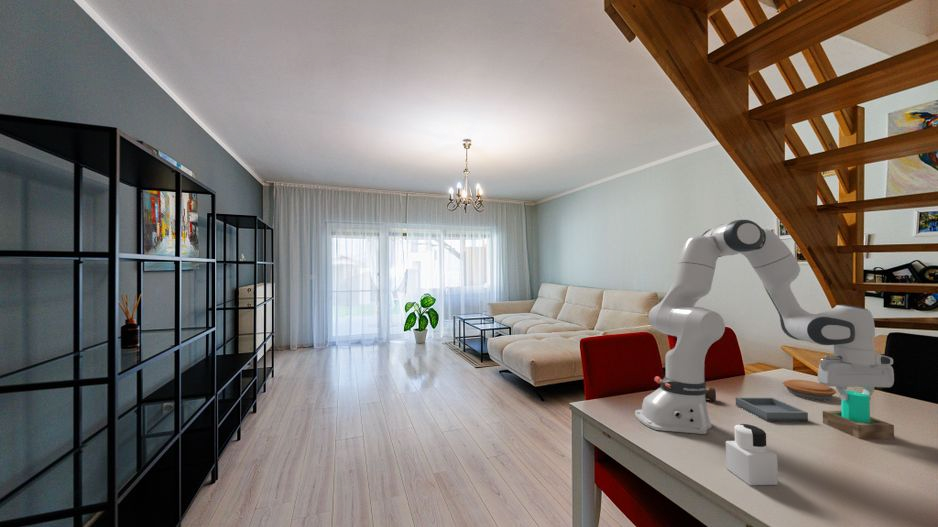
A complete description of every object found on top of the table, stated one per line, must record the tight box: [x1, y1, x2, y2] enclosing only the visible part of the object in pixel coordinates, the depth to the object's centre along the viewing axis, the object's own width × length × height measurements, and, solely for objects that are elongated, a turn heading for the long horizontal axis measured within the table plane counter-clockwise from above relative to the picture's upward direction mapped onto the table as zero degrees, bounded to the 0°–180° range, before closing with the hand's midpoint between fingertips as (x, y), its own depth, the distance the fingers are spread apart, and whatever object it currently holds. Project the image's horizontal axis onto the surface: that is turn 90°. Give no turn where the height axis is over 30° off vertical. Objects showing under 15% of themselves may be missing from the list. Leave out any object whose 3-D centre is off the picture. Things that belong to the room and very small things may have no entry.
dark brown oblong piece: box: [705, 387, 717, 403], centre depth 136 cm, size 6×5×15 cm
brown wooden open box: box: [822, 410, 895, 440], centre depth 107 cm, size 10×10×4 cm
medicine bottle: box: [725, 423, 779, 486], centre depth 83 cm, size 7×7×12 cm
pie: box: [782, 379, 838, 401], centre depth 138 cm, size 15×16×5 cm
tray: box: [735, 397, 809, 423], centre depth 120 cm, size 14×14×3 cm
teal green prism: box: [840, 389, 871, 423], centre depth 107 cm, size 6×6×12 cm
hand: (855, 400), depth 107 cm, fingers closed on teal green prism, 5 cm apart
